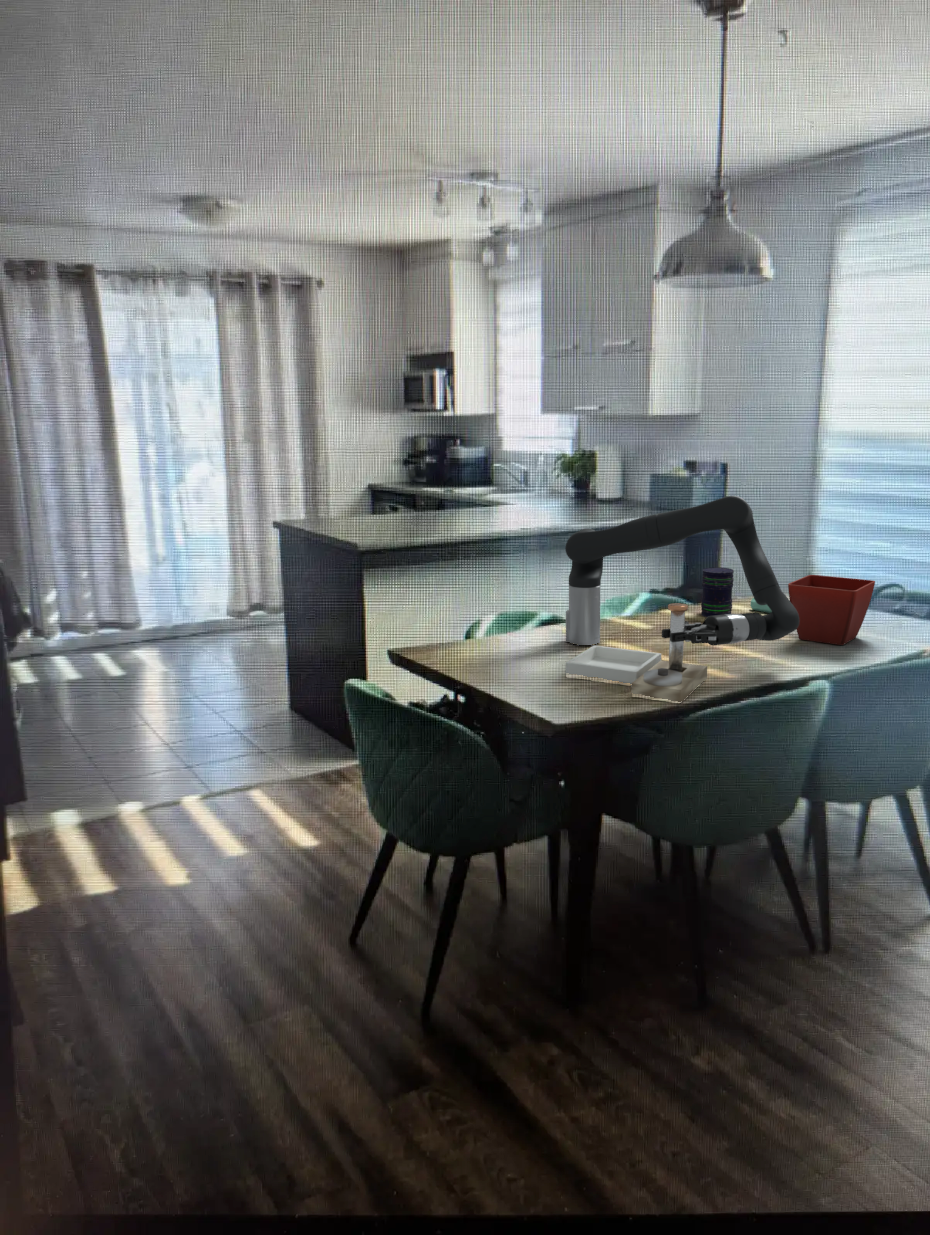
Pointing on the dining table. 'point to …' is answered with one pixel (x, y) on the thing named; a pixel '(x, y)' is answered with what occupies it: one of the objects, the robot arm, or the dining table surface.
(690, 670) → the wooden peg base
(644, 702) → the dining table surface
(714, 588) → the storage jar
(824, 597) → the plant pot
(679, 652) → the lock pin
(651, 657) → the tray
